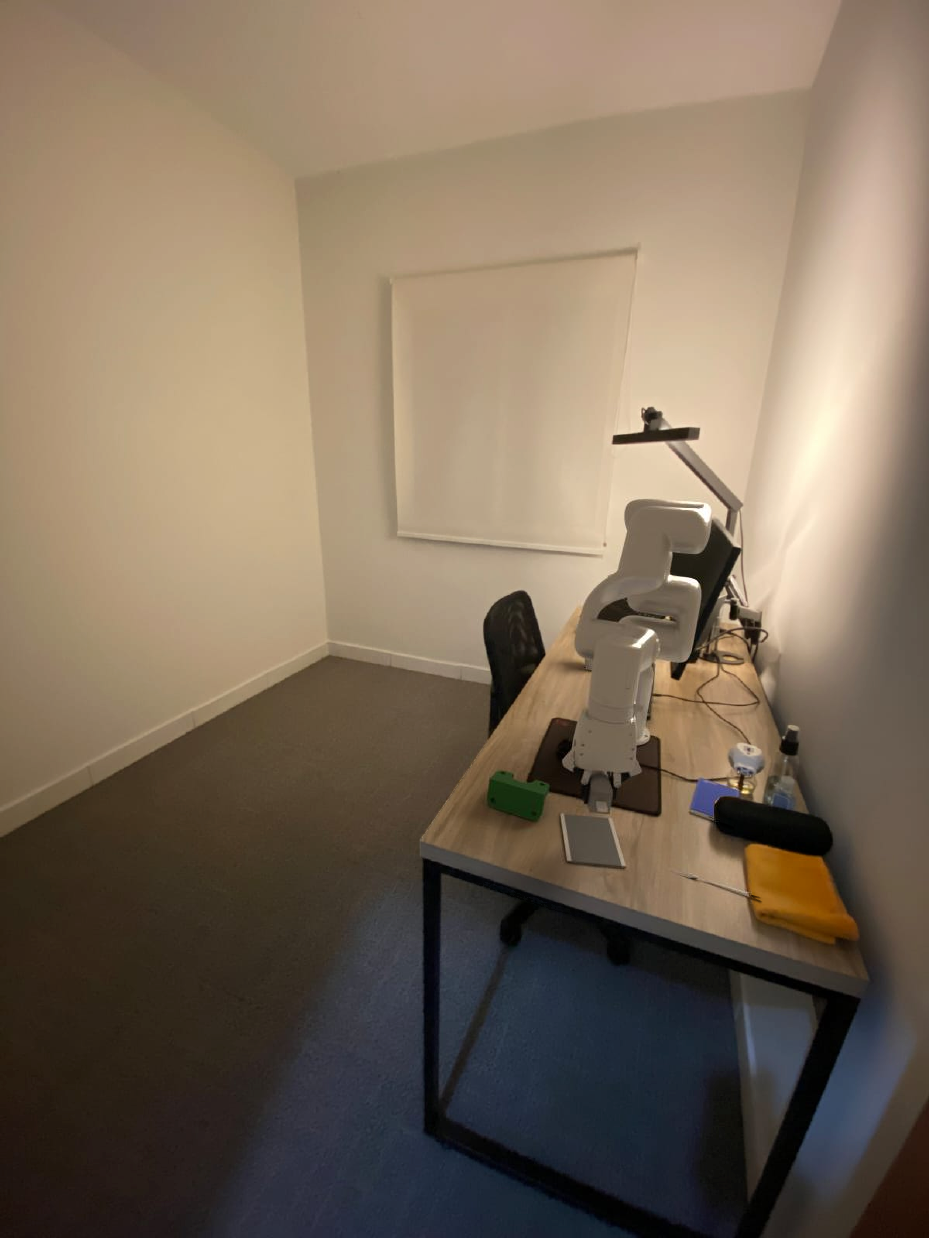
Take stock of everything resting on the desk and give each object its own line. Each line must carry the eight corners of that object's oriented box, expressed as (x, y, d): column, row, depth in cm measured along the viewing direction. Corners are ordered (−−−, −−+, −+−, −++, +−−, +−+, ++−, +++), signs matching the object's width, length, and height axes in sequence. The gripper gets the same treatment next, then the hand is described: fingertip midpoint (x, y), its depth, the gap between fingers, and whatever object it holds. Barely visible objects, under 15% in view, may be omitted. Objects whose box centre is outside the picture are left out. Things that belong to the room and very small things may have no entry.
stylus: (640, 849, 88) (761, 886, 81) (640, 854, 88) (760, 891, 81) (639, 865, 85) (764, 906, 78) (638, 870, 85) (763, 911, 78)
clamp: (534, 823, 101) (558, 789, 99) (527, 836, 95) (551, 800, 93) (487, 786, 104) (509, 752, 102) (477, 796, 99) (500, 761, 97)
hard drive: (698, 776, 109) (690, 807, 99) (740, 790, 105) (735, 823, 95) (697, 782, 110) (688, 814, 100) (738, 796, 106) (733, 830, 96)
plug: (583, 790, 91) (587, 762, 89) (602, 792, 90) (607, 764, 89) (590, 819, 83) (595, 789, 81) (611, 821, 83) (616, 791, 81)
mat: (559, 815, 97) (560, 813, 97) (611, 819, 96) (611, 818, 96) (567, 862, 85) (567, 860, 85) (625, 868, 85) (625, 865, 85)
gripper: (654, 701, 85) (638, 791, 91) (558, 694, 86) (548, 783, 92) (667, 723, 78) (649, 819, 84) (562, 714, 79) (551, 809, 85)
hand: (596, 799), depth 88 cm, fingers closed on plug, 3 cm apart
